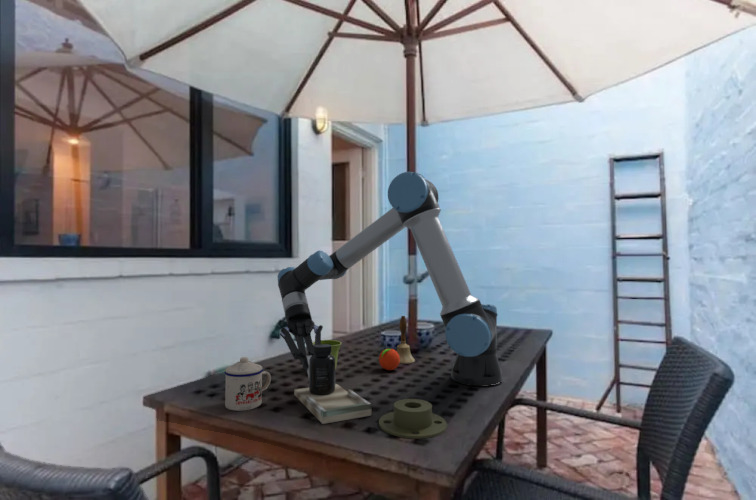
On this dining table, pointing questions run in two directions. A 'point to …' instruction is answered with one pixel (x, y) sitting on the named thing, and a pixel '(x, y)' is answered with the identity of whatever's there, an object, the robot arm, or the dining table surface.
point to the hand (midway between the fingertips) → (313, 378)
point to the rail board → (334, 404)
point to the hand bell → (404, 345)
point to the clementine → (389, 359)
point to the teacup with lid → (244, 385)
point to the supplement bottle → (322, 370)
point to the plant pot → (332, 348)
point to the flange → (412, 420)
